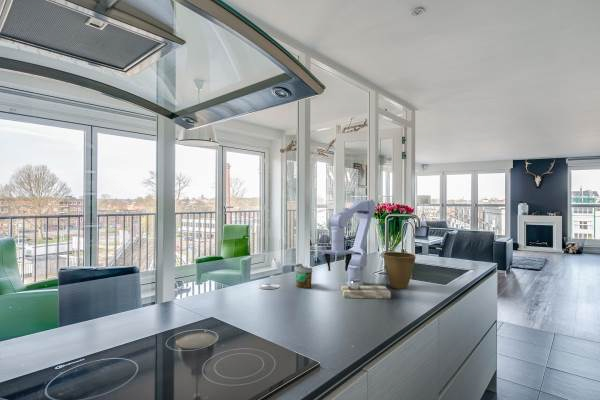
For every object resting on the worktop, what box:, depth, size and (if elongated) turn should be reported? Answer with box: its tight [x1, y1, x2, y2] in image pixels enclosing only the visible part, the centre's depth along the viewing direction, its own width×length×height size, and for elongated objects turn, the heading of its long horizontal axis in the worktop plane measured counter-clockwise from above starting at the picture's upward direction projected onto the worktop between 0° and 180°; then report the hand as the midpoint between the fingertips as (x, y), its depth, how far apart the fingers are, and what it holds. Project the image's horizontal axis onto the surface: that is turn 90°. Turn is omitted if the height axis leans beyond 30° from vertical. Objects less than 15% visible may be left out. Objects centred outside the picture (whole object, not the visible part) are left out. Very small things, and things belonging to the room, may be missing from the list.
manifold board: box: [341, 284, 392, 299], centre depth 142 cm, size 11×20×2 cm, turn 89°
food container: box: [293, 263, 313, 290], centre depth 154 cm, size 12×6×10 cm, turn 25°
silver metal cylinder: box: [350, 278, 360, 290], centre depth 142 cm, size 4×4×7 cm
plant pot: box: [383, 251, 416, 290], centre depth 154 cm, size 15×15×16 cm
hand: (337, 270), depth 145 cm, fingers open, 7 cm apart
